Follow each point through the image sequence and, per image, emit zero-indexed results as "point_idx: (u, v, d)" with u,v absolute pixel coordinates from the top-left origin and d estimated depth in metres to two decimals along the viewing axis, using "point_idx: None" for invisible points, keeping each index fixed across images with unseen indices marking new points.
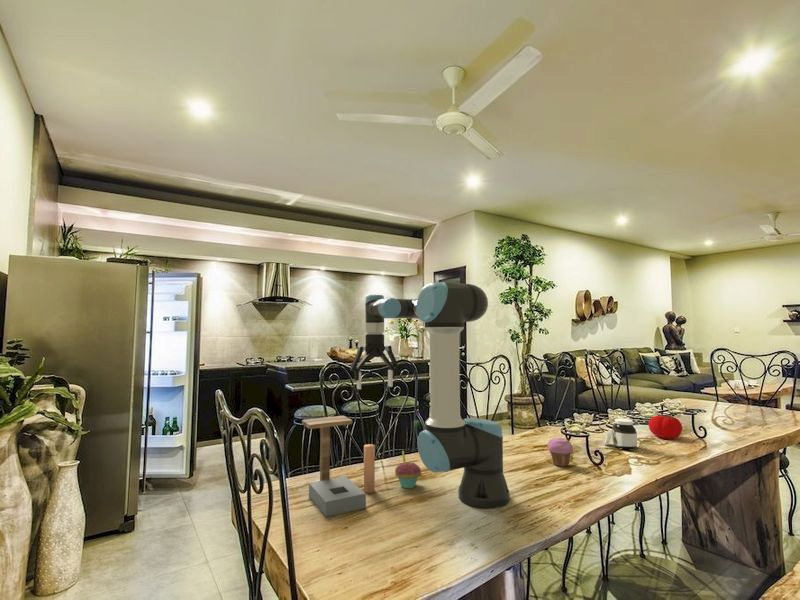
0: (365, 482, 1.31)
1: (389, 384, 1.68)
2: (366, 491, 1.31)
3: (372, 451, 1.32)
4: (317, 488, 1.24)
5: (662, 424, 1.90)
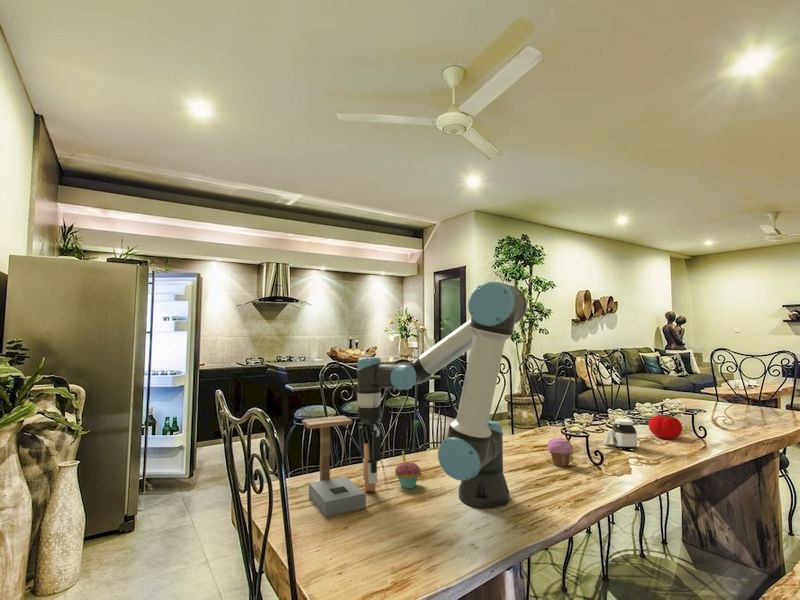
0: (366, 480, 1.31)
1: None
2: (367, 489, 1.30)
3: None
4: (317, 488, 1.24)
5: (662, 424, 1.90)
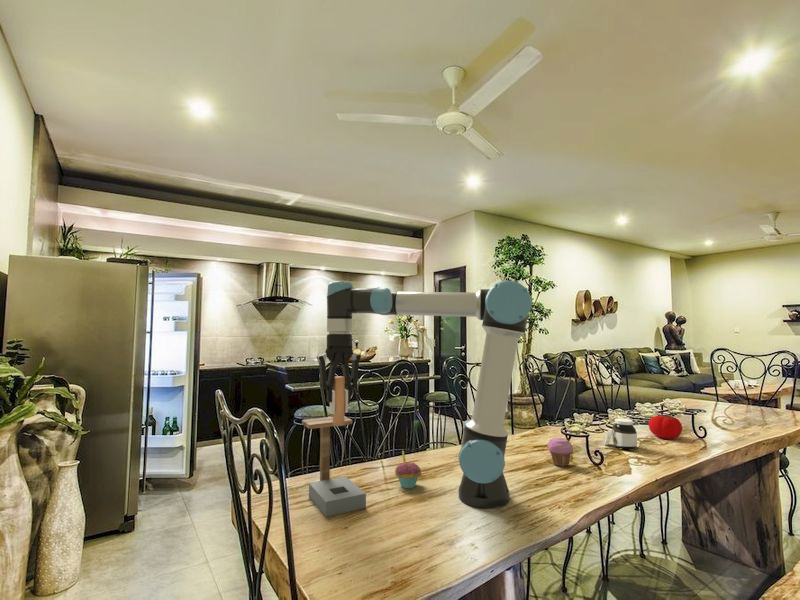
0: (342, 415, 1.23)
1: None
2: (343, 424, 1.23)
3: None
4: (317, 488, 1.24)
5: (662, 424, 1.90)
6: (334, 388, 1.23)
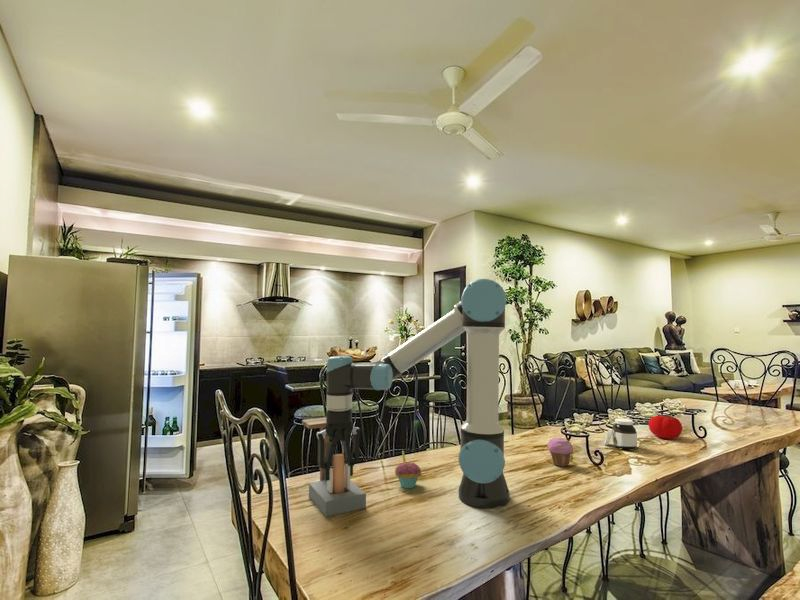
0: None
1: (346, 485, 1.23)
2: None
3: None
4: (317, 488, 1.24)
5: (662, 424, 1.90)
6: (333, 468, 1.21)
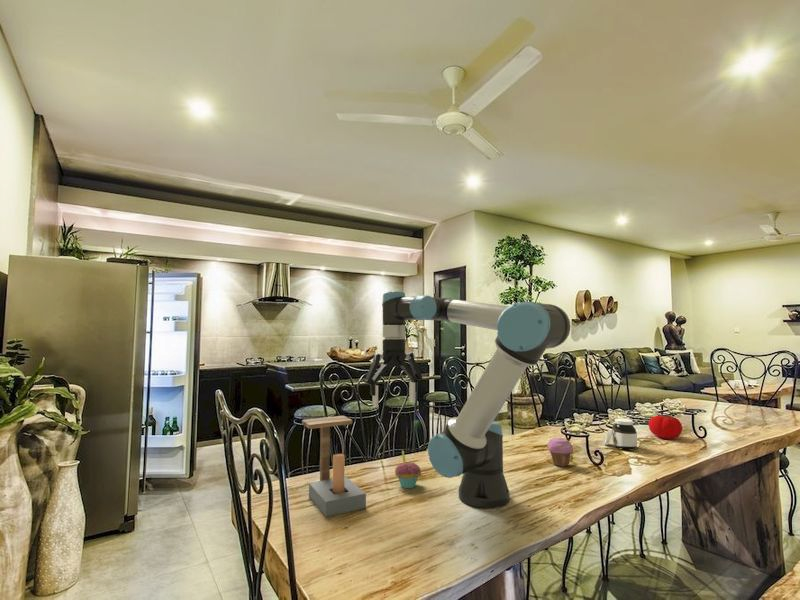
0: None
1: (411, 399, 1.39)
2: None
3: None
4: (317, 488, 1.24)
5: (663, 424, 1.90)
6: (334, 467, 1.22)
